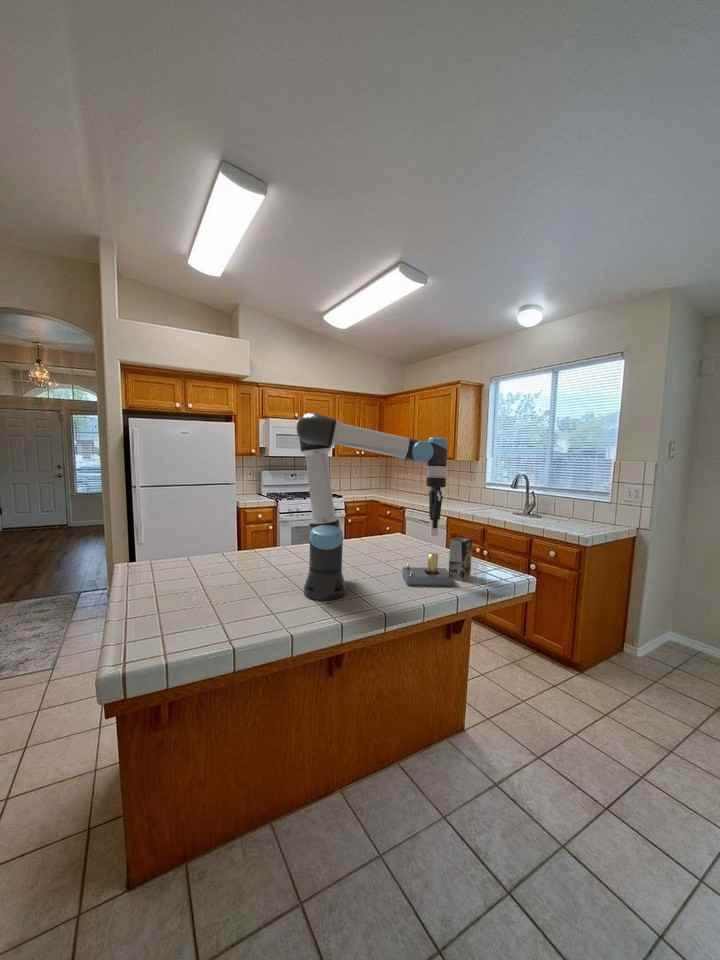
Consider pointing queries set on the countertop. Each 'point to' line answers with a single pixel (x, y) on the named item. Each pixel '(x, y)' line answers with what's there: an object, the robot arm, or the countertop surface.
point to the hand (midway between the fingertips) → (433, 535)
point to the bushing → (432, 563)
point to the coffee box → (460, 558)
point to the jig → (426, 577)
